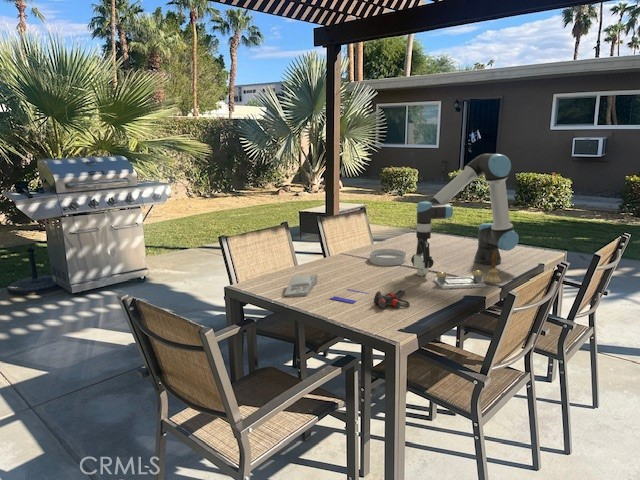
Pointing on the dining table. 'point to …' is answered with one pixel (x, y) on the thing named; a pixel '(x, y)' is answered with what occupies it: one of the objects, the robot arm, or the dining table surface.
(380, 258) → the dish
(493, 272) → the hand bell
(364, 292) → the flat strips
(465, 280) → the plate
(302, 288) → the ramp
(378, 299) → the grey red jointed piece
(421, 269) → the pneumatic valve
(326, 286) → the dining table surface
